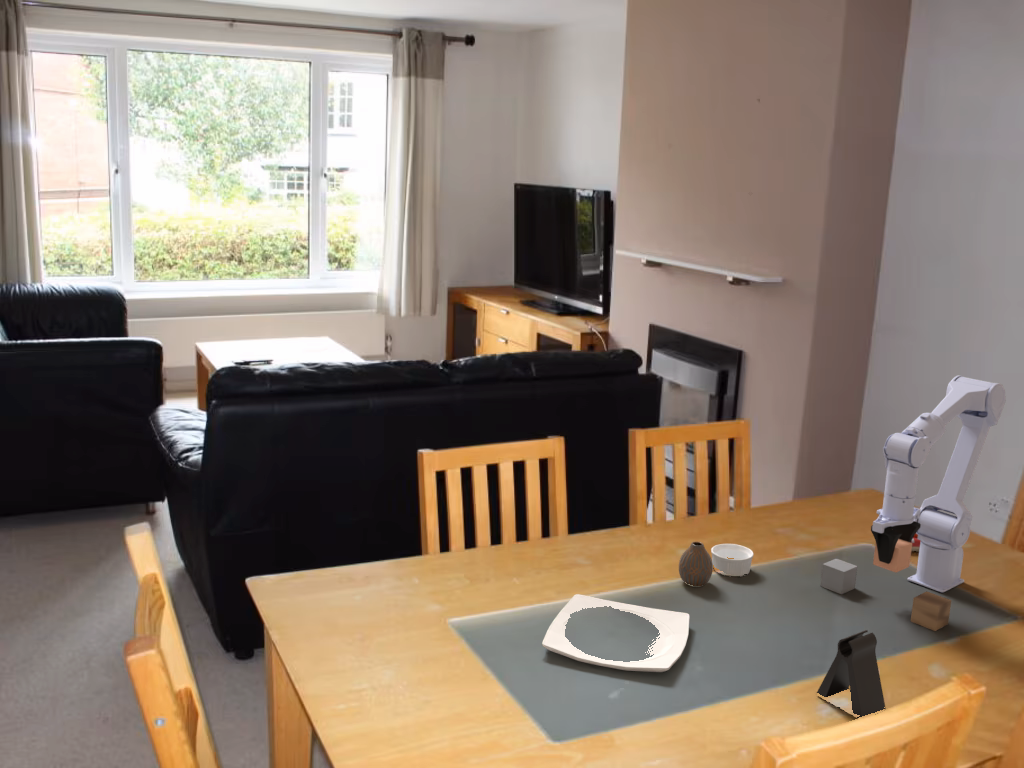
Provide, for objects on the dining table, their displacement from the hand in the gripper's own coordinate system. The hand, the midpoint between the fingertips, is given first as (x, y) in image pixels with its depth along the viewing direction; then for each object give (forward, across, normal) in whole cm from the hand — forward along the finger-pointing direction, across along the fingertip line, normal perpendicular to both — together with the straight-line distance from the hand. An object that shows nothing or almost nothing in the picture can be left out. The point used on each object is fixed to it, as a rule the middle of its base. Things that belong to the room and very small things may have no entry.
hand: (892, 558), depth 197 cm
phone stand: (+9, +41, +17) cm, 45 cm away
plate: (+10, +56, -21) cm, 60 cm away
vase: (+9, +25, -29) cm, 39 cm away
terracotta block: (+2, 0, 0) cm, 2 cm away
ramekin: (+10, +13, -29) cm, 33 cm away
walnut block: (+9, +2, +10) cm, 14 cm away
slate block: (+9, +2, -10) cm, 14 cm away
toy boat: (+10, -33, -12) cm, 36 cm away
